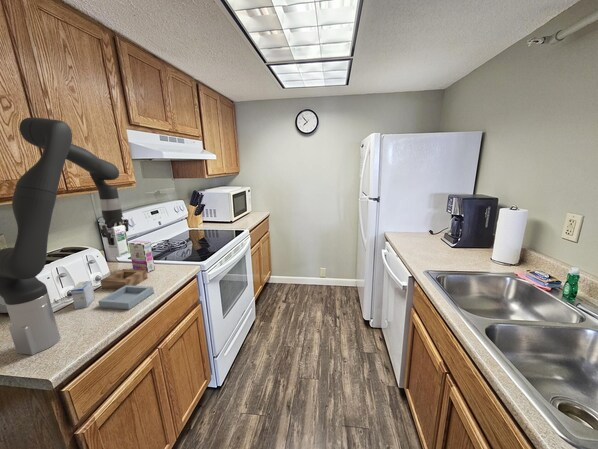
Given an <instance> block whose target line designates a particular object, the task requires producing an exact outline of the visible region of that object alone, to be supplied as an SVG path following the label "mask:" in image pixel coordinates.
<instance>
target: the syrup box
mask: <svg viewBox="0 0 598 449" xmlns="http://www.w3.org/2000/svg"><path fill="white" fill-rule="evenodd" d="M107 229H108V228H107ZM125 229H126V227H125V226H124V225H121V226H116V227H112V228H111V229H108V231H112V230H113V238H114V243H115V245H113V246H112V245H109V244H108V239H107V238H106V237H105V240H106V242H107V248H108V252H109V256H110V257H111V258H121V257H123V256H126V255H129V254H130V249H129V240H128V237H127V232H126V230H125ZM109 235H110V233H109Z"/></svg>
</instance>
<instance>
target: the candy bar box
mask: <svg viewBox="0 0 598 449" xmlns="http://www.w3.org/2000/svg"><path fill="white" fill-rule="evenodd" d="M151 243H152V242H151V241H145V240H144V241H143V240H134V241H131V242H128V246H129V251H130V253H129V254H130V260H131V266H132V269H134V270H146V271H147V274H148V273H150V272H153V271H155V270H156V267H155V263H154V262H155V261H154V256H153V249H152V244H151Z"/></svg>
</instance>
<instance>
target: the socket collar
mask: <svg viewBox="0 0 598 449" xmlns="http://www.w3.org/2000/svg"><path fill="white" fill-rule="evenodd" d="M147 279H149V277H148V273H147V271H146V270H134V269H133V268H131V269H128V268H122V269H120V270H119V271H117V272H114V273H112V274H110V275H108V276H107V277H106V276H105V277H104V278H102V279H100V280H99V282H100V285H101V290H113V291H117V290H118V289H120V288H122V287H124V286H125V285H131V286H138V285H139V284H140V283H142V282H144V281H146V280H147Z"/></svg>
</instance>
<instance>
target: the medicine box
mask: <svg viewBox="0 0 598 449" xmlns="http://www.w3.org/2000/svg"><path fill="white" fill-rule="evenodd" d="M70 292H71V296H72V297H71V298H72V302H73V306H74V309H75V310H78V309H80V310H81V309H85V308H88V307H89V306H90V305H91V304H92V303H93V301H94V300H95V298H96V297H95V292H94V286H93V282H92V280H88V281H86V280H85V281H80V282H78V283H77V284H76V285H75V286H74V287H73V288H72V289H71V290H70Z"/></svg>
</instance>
